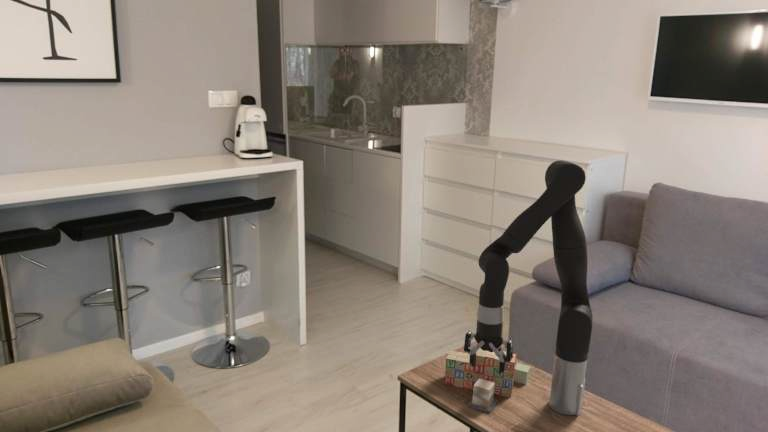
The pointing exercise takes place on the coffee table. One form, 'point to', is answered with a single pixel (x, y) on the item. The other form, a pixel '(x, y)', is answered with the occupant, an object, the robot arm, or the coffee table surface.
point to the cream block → (483, 393)
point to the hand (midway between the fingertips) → (487, 368)
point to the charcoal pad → (483, 407)
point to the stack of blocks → (479, 371)
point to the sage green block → (522, 373)
